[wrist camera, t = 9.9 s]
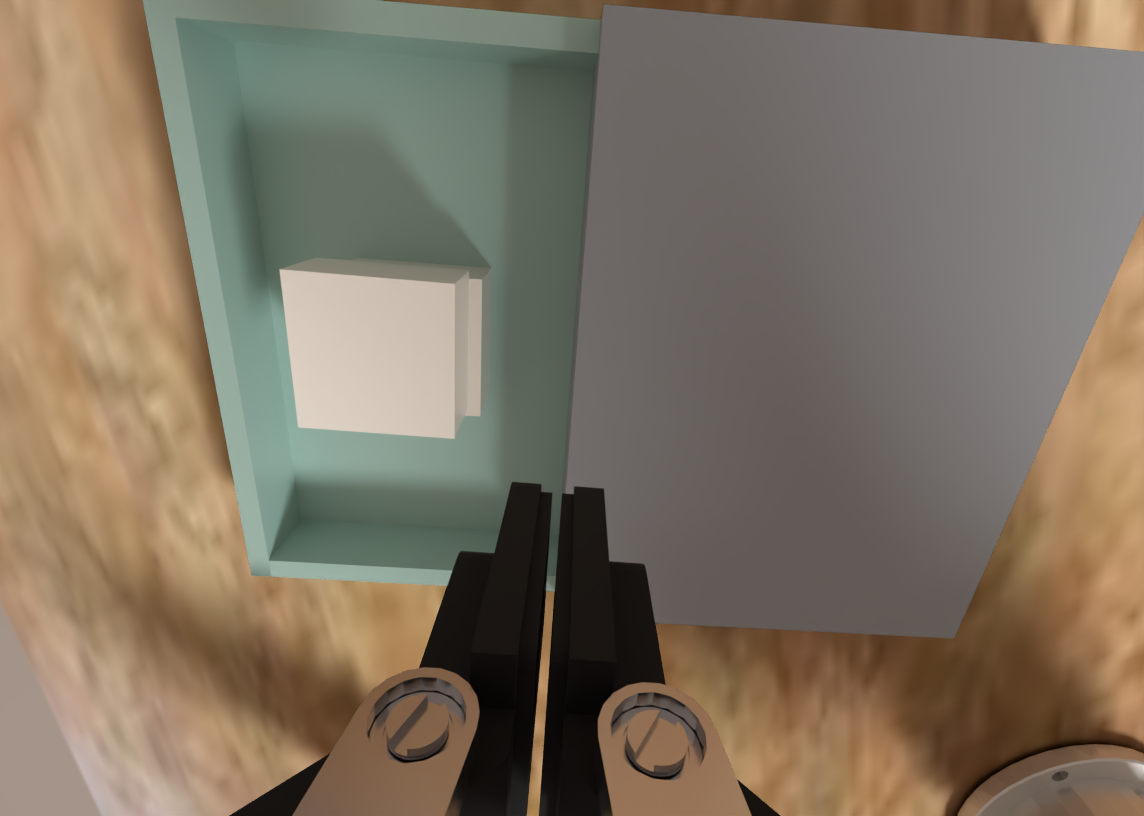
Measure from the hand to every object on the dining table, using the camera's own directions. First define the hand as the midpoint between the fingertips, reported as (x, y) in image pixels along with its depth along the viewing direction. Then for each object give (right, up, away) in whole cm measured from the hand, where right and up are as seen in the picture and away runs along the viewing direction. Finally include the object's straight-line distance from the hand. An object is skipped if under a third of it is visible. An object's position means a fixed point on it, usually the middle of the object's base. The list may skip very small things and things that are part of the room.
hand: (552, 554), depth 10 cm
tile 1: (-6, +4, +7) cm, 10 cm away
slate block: (+8, +5, +13) cm, 16 cm away
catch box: (-6, +6, +12) cm, 15 cm away
